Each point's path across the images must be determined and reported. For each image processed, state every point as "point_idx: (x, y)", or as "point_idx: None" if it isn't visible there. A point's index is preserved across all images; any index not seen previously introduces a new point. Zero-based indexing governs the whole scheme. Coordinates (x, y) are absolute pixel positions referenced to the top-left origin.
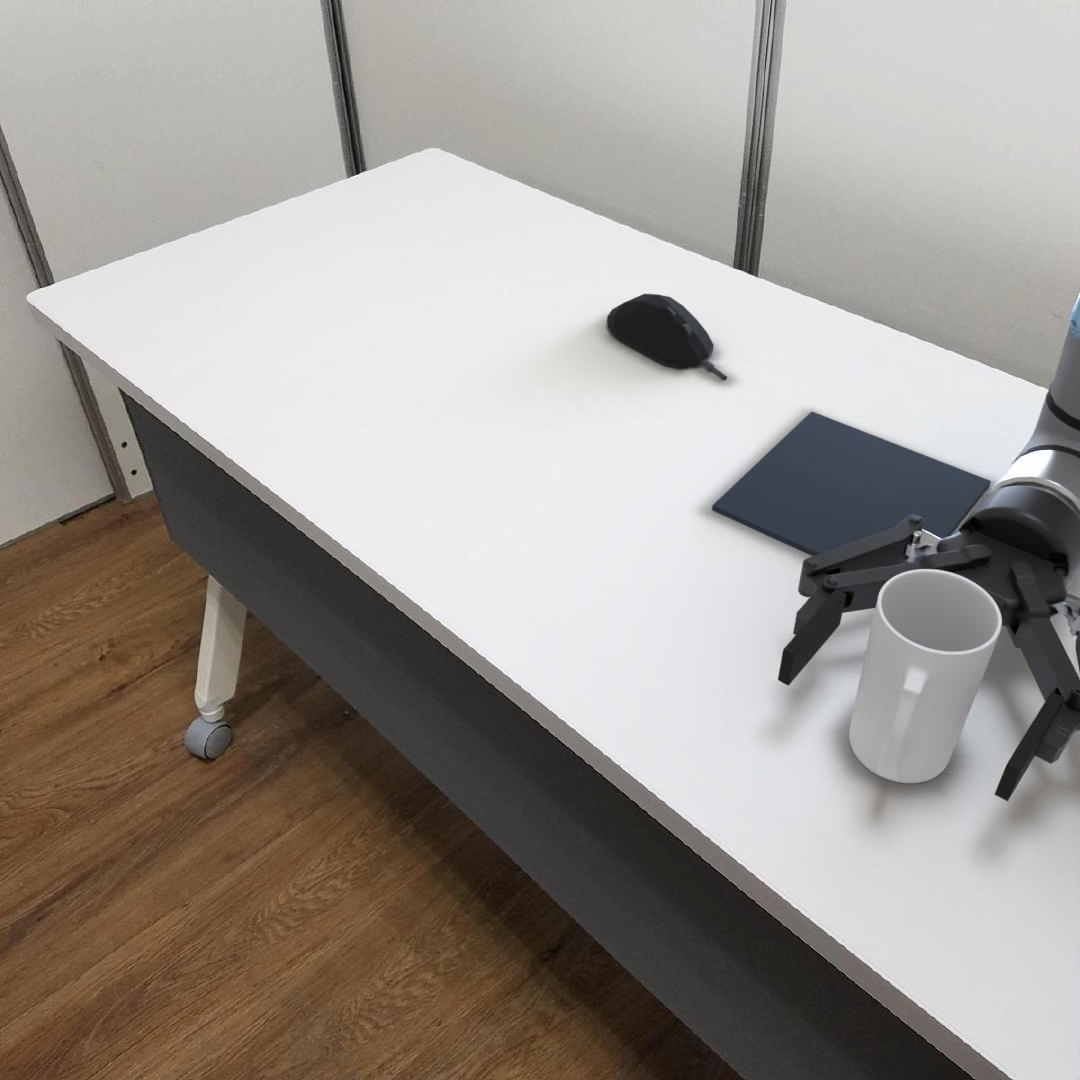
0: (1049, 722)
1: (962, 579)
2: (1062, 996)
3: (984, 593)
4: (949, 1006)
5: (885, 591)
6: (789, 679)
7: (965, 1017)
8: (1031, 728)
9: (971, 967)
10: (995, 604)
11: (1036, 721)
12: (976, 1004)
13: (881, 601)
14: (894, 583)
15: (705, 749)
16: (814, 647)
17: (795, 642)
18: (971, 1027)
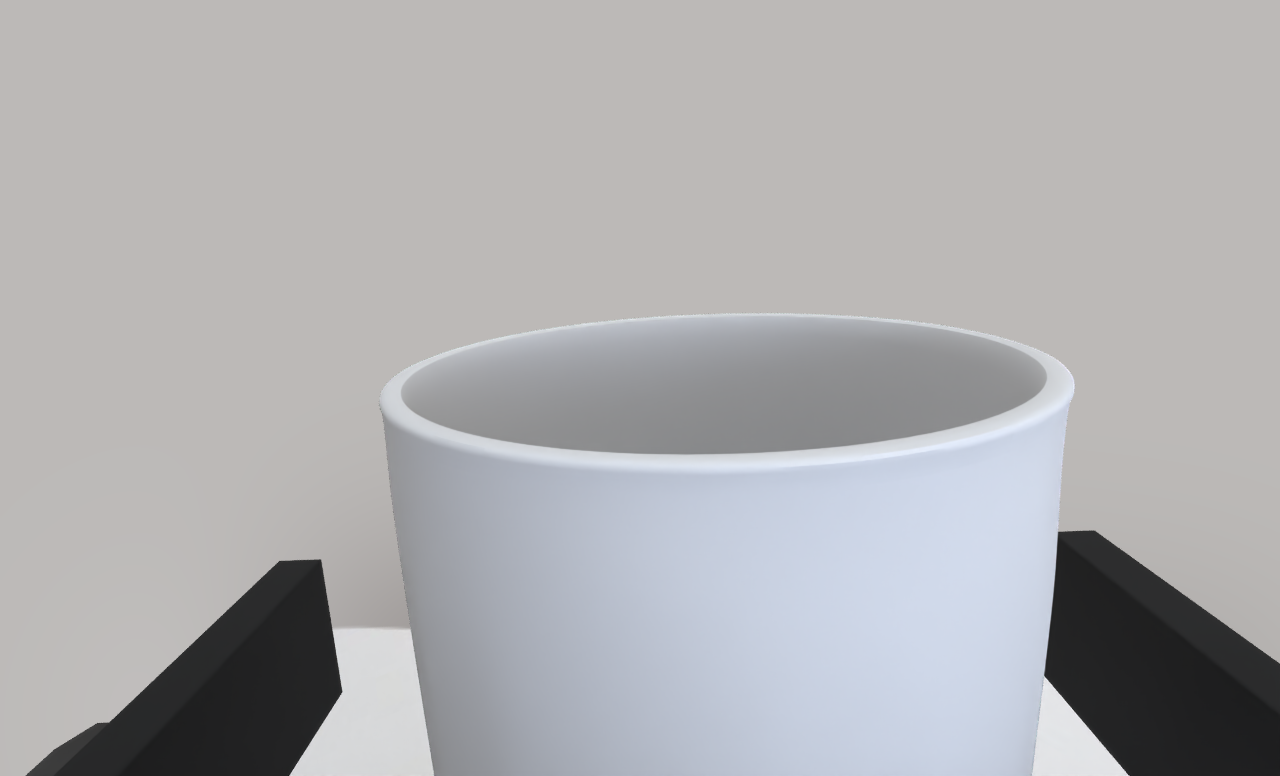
0: (112, 722)
1: (748, 454)
2: None
3: (534, 446)
4: (395, 643)
5: (992, 362)
6: None
7: (370, 643)
8: (210, 669)
9: (364, 696)
10: (434, 428)
11: (180, 695)
12: (353, 661)
13: (936, 334)
14: (1031, 392)
15: (1080, 762)
16: (1151, 740)
17: (1112, 557)
18: (360, 638)
